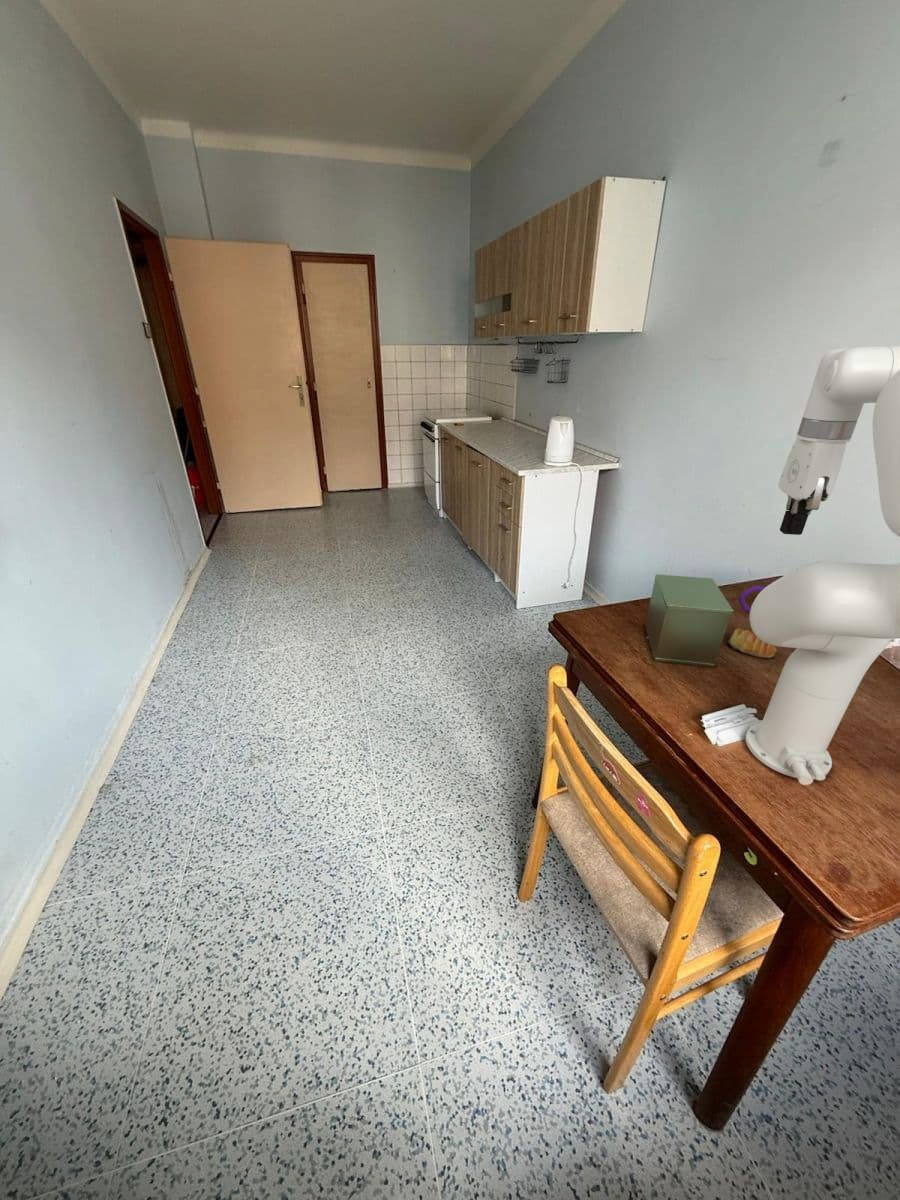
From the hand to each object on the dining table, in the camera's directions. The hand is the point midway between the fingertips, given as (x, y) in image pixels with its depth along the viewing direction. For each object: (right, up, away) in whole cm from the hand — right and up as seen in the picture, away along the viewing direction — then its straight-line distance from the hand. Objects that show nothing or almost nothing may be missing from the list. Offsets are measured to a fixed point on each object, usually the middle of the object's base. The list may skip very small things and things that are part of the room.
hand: (790, 532), depth 88 cm
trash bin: (-9, -23, +24) cm, 35 cm away
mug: (+20, -18, +34) cm, 43 cm away
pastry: (+7, -24, +23) cm, 34 cm away
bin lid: (-10, -11, +17) cm, 23 cm away
